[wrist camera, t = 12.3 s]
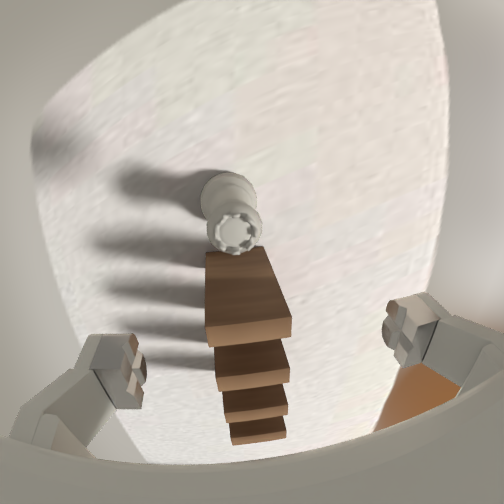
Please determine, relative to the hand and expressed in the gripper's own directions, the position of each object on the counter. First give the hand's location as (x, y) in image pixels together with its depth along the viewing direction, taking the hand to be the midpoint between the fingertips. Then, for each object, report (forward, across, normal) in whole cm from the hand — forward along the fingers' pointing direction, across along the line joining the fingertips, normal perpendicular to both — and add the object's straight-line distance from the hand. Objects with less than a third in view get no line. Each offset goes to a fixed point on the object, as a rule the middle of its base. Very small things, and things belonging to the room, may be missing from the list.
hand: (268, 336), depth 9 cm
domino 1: (+16, 0, +5) cm, 17 cm away
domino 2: (+16, 0, +10) cm, 19 cm away
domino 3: (+16, 0, +14) cm, 22 cm away
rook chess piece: (+17, 0, 0) cm, 17 cm away
